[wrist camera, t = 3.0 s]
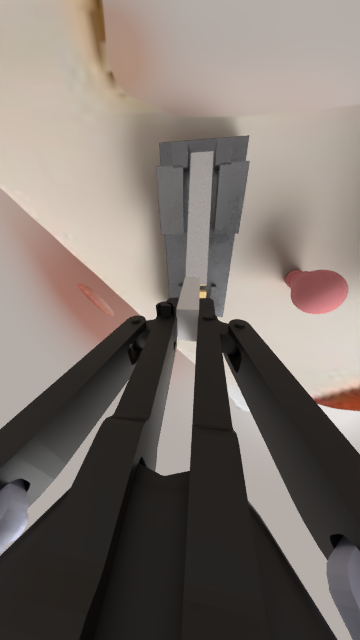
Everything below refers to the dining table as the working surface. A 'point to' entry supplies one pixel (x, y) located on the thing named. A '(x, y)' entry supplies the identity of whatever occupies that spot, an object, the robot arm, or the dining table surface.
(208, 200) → the light grey flat bar
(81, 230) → the dining table surface
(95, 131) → the dining table surface
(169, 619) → the robot arm
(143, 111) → the dining table surface
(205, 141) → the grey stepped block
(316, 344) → the dining table surface
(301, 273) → the light bulb
